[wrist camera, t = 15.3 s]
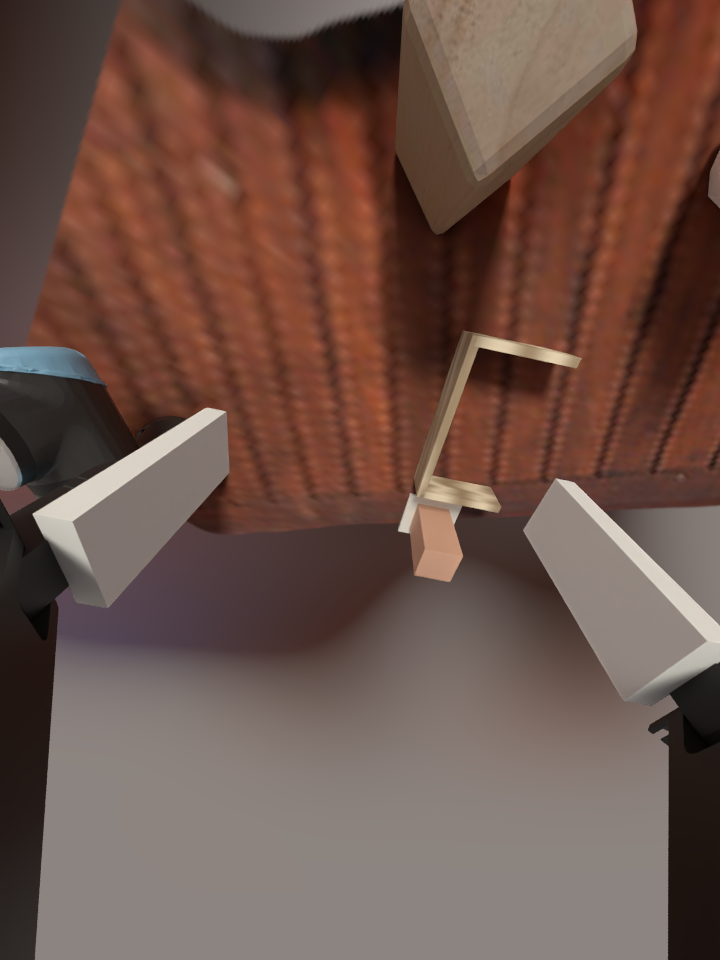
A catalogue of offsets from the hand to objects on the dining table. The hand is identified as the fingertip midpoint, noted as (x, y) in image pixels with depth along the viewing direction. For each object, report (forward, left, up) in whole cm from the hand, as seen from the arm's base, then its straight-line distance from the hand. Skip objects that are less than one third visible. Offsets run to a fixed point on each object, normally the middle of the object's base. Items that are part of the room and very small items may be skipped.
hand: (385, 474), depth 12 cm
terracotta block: (+15, -28, -36) cm, 48 cm away
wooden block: (+3, +20, -37) cm, 42 cm away
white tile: (+15, -28, -37) cm, 49 cm away
